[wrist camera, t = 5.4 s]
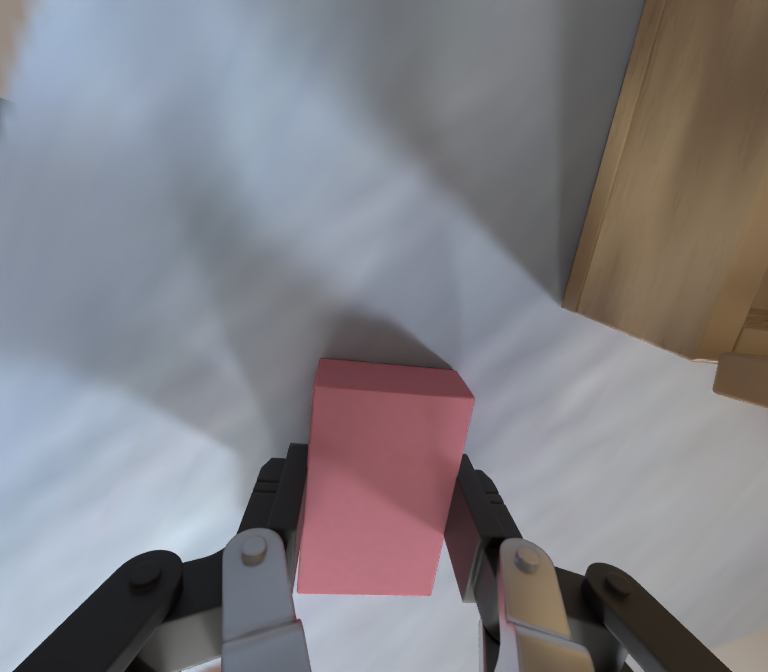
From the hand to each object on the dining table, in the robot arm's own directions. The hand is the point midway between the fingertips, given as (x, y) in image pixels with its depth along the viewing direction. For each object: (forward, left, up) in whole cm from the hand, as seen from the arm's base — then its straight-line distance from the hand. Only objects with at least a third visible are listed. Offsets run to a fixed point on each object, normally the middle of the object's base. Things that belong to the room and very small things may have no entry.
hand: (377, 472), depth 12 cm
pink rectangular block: (0, 0, -1) cm, 1 cm away
